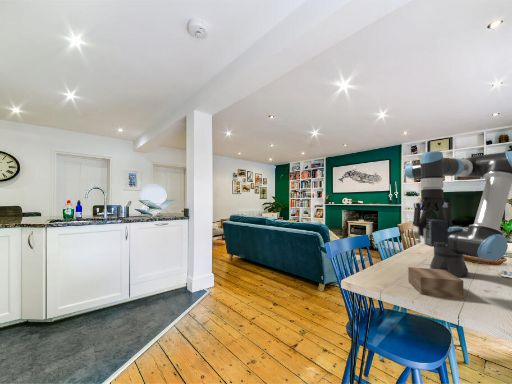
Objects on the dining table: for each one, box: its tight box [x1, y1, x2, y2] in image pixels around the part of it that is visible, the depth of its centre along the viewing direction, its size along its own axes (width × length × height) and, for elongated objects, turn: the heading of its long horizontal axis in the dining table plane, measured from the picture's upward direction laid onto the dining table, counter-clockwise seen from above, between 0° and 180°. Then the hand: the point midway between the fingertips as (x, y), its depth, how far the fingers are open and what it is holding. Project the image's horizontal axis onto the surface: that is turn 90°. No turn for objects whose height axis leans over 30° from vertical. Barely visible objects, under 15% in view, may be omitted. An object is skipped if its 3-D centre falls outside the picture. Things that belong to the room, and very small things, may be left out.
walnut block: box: [407, 266, 465, 299], centre depth 97 cm, size 14×14×7 cm
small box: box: [418, 218, 448, 248], centre depth 97 cm, size 11×6×10 cm, turn 169°
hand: (432, 243), depth 97 cm, fingers closed on small box, 7 cm apart
